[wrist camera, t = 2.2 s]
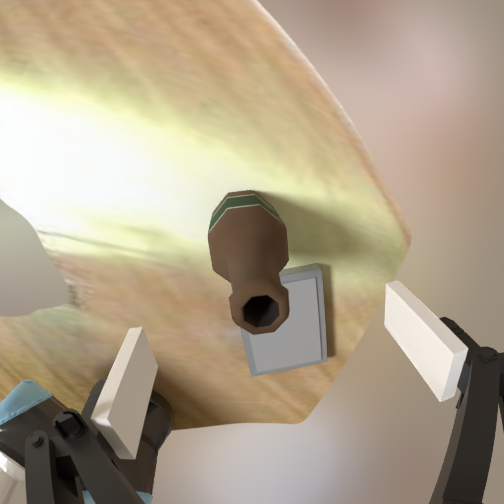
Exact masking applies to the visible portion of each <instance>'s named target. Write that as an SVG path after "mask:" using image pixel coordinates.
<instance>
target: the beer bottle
mask: <svg viewBox="0 0 504 504" xmlns="http://www.w3.org/2000/svg"><path fill="white" fill-rule="evenodd" d="M208 242H209V248H210V255H211V261H212V267H213V270H214V271H215V272H216V273H217V274H219V275H220V276H222V277H223V278H225V279H226V280H227V281H229V282H230V283H232V289H233V293H232V294H231V296H230V297H229V302H230V308H231V314H232V319H233V321H234V322H235V323H236V325H238V326H240V327H241V328H243V329H244V330H246V331H248V332H249V333H251V334H252V335H257V334H265V333H272V332H275V331H276V330H277V329H278V328H279V327H280V326H281V325H282V324H283V323H284V322H285V320H286V319H287V318H288V317H289V312H290V306H289V291H288V289H287V288H285V287H284V286H283V285H281V281H280V276H279V272H280V271H281V270H282V269H283V268H284V267H285V266H286V264H287V262H288V261H289V257H288V244H287V232H286V228H285V225H284V223H283V222H282V220H281V219H280V217H279V216H278V214H277V213H276V211H275V210H274V209H273V207H272V206H271V205H270V204H269V203H267V202H266V201H265V200H264V199H262V198H261V197H260V196H258V195H257V194H256V193H255V192H253V191H252V190H247V191H239V192H231V193H228V194H227V195H226V196H225V197H224V199H223V200H222V201H221V202H220V204H219V205H218V206H217V208H216V209H215V210H214V212H213V214H212V217H211V222H210V226H209V231H208Z"/></svg>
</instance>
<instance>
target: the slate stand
mask: <svg viewBox="0 0 504 504" xmlns="http://www.w3.org/2000/svg"><path fill="white" fill-rule="evenodd" d="M279 276H280V281H281V285H283V286H284V287H285V288H287V289H288V291H289V306H290V312H289V317H288V318H287V319H286V320H285V322H284V323H283V324H282V325H281V326H280V327H279V328H278V329H277V330H276V331H275V332H272V333H265V334H257V335H252V334H251V333H249V332H248V331H246V330H244V329H243V328H241V327H240V328H241V333H242V337H243V342H244V346H245V351H246V355H247V359H248V364H249V368H250V373H251V377H252V376H258V375H264V374H270V373H275V372H280V371H286V370H291V369H296V368H300V367H305V366H310V365H314V364H319V363H323V362H327V342H326V324H325V308H324V294H323V281H322V269H321V267H320V266H319V264H318V263H316V264H311V265H305V266H300V267H295V268H289V269H284V270H281V271H280V272H279ZM231 286H232V283H231ZM232 291H233V289H232Z"/></svg>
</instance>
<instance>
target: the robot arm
mask: <svg viewBox="0 0 504 504" xmlns="http://www.w3.org/2000/svg"><path fill="white" fill-rule="evenodd" d="M384 325H385V327H386V328H387V330H388V331H389V332H390V334H391V335H392V336H393V338H394V339H395V340H396V341H397V343H398V344H399V346H401V348H402V350H403V351H404V352H405V353H406V355H407V356H408V358H409V359H410V360H411V362H412V363H413V364H414V366H415V367H416V369H417V370H418V371H419V373H420V374H421V376H422V377H423V378H424V380H425V381H426V382H427V384H428V385H429V387H430V388H431V390H432V391H433V392H434V394H435V395H436V397H437V398H438V400H439V401H440V402H442V401H444V400H447V399H449V398H451V397H453V396H454V395H455V392H456V389H457V387H458V388H459V389H460V391H461V395H460V398H459V400H458V403H457V406H456V408H457V413H456V417H455V421H454V426H453V430H452V434H451V438H450V441H449V445H448V449H447V452H446V456H445V459H444V463H443V466H442V469H441V472H440V475H439V478H438V481H437V483H436V486H435V489H434V492H433V494H432V497H431V500H430V502H429V504H483V503H482V498H483V494H484V490H485V486H486V482H487V477H488V472H489V468H490V462H491V457H492V451H493V445H494V438H495V431H496V422H497V413H498V403H499V407H500V413H501V418H502V424H503V430H504V353H498V352H497V351H496V350H495V349H493V348H490V347H480V346H479V345H478V344H477V343H476V342H475V341H474V340H473V339H472V338H471V337H470V336H469V335H468V334H467V333H466V332H465V333H464V330H463V329H461V328H459V326H458V325H457V324H456V323H455V322H454V321H453V320H451V319H448V318H446V317H442V318H437V316H435V314H433V313H432V312H431V311H430V310H429V309H428V308H427V307H426V306H425V305H424V304H423V303H422V302H421V301H420V300H419V299H418V298H417V297H415V295H414V294H412V293H411V292H410V291H409V290H408V289H407V288H406V287H405V286H404V285H403V284H402V283H401V282H399V281H398V280H397V281H393V282H389V283H386V301H385V323H384ZM157 369H158V365H157V362H156V360H155V358H154V355H153V353H152V350H151V348H150V345H149V342H148V340H147V337H146V335H145V332H144V329H143V327H138V328H130V329H129V331H128V333H127V335H126V338H125V340H124V342H123V344H122V346H121V348H120V351H119V353H118V355H117V357H116V359H115V362H114V364H113V366H112V368H111V371H110V373H109V375H108V378H107V380H100V381H99V382H98V383H97V384H96V385H95V386H94V387H93V388H92V391H91V393H90V396H89V397H88V399H87V403H86V404H85V406H84V408H83V411H82V413H81V415H80V414H79V413H78V412H77V410H74V409H69V408H67V407H66V406H65V405H64V404H62V403H61V402H60V401H59V400H58V399H56V398H55V397H54V395H53V394H52V393H49V392H48V391H46V390H45V389H44V388H42V387H41V386H40V385H39V384H38V383H36V382H35V381H33V380H30V379H26V380H23V381H22V382H20V383H19V384H18V385H17V386H16V387H15V388H14V389H13V391H12V392H11V393H10V394H9V395H8V396H7V397H6V398H5V399H4V400H3V401H2V402H1V403H0V504H151V500H152V498H153V496H152V491H153V484H154V477H155V469H156V463H157V456H158V451H159V449H160V447H161V446H162V444H163V443H164V441H165V440H166V438H167V436H168V435H169V434H170V432H171V430H172V425H173V418H174V416H173V411H172V409H171V407H170V405H169V404H168V403H167V402H166V400H165V399H164V398H162V397H161V396H160V395H159V394H157V393H156V392H154V391H153V390H152V388H153V384H154V380H155V377H156V373H157Z"/></svg>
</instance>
